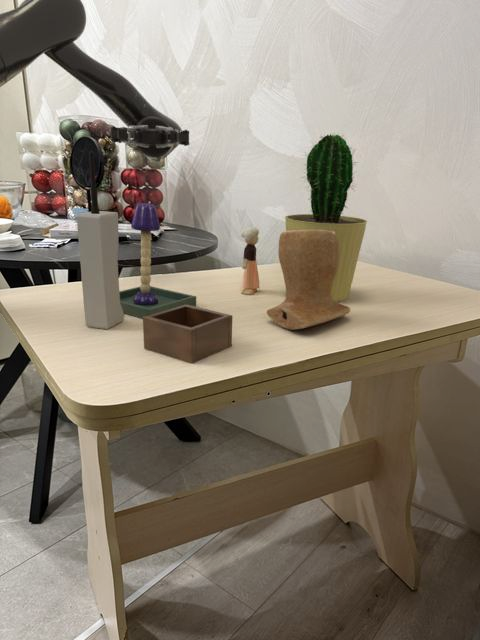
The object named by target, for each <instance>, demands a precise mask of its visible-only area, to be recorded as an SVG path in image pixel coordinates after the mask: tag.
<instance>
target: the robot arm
mask: <svg viewBox="0 0 480 640" xmlns="http://www.w3.org/2000/svg"><path fill="white" fill-rule="evenodd" d="M86 25H87V12H86V8H85V5H84V3H83V2H82V0H23V1H22V2H21V4H19V6H17V7H16V8H13V9H11V10H9V11H8V10H7V11H6V12H1V13H0V88H2V87H3V86H4V85H5V84H7V83H8V82H9V81H11V80H13V79H14V78H15V77H16V76H18V75H20V73H22V72H23V71H24V70H25V69H26V68H28V67H29V66H30V65H31V64H32V63H34V61H36V60H37V59H38V58H40V57H41V56H42V55H43V54H44V55H45V56H46V57H47V58H49V59H50V60H51V61H53V62H54V63H55V64H57V65H58V66H59V67H60V68H61V69H63V70H64V71H66V72H67V73H68V74H69V75H70V76H72V77H73V78H75V80H77V81H78V82H80V83H81V84H82V85H83V86H85V87H86V88H87V89H88V90H89V91H91V92H92V93H93V94H94V95H95V96H96V97H98V98H99V99H100V100H101V101H102V102H103V103H104V104H105V105H106V106H107V107H108V108H109V109H110V111H112V112H113V113H114V114H115V115H116V116H117V117H118V119H120V120H121V122H122V123H124V125H125V126H120V127H116V126H115V125H114V126H110V142H113V143H118V144H124V143H125V144H126V143H128V145H129V146H136V148H137V149H138V150H139V151H140V152H141V153H142V154H143V155H144V156H145V158H146V159H147V160H149V161H151V162H152V163H154V164H160V163H162V162H163V161H164V160H165V159H166V158H167V157H168V156H169V155H171V153H172V152H174V150H176V148H178V146H180V145H181V146H184V147H187V146H190V130H188V129H184V130H183V129H182V128H181V126H180V125H179V123H177V122H176V121H175V120H173V118H171V117H169V116H168V115H165V113H162V112H161V111H159V110H158V109H157V108H156V107H154V106H153V105H152V104H151V103H150V102H149V101H148V100H147V99H146V98H145V97H144V96H143V95H142V94H141V92H140V91H139V90H138V89H137V88H136V87H135V85H134V84H132V82H131V81H130V80H129V79H127V78H126V77H125V76H124V75H122V74H121V73H119V72H118V71H115V70H114V69H112V68H110V67H109V66H107V65H105V64H103V63H101V62H100V61H97V60H96V59H94V58H93V57H91V56H90V55H89V54H87V53H86V52H84V51H83V50H82V49H81V48H80V47H79V46H78V45H77V44H76V43H75V42H76V41H77V40H78V39H80V37H81V36H82V35H83V33H84V31H85V29H86Z"/></svg>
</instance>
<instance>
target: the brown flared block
mask: <svg viewBox="0 0 480 640" xmlns="http://www.w3.org/2000/svg"><path fill="white" fill-rule="evenodd" d="M277 253H278V261H279V264H280V268H281V272H282V276H283V281H284V286H285V299H284V300H283V301H282V302H281V303H280V304H278V305H277V306H274V307H271V308H269V309H267V310H266V315H267V316H268V317H269V318H270V319H271V320H272V321H273V322H274V323H275V324H277V325H278V326H280V328H282V329H283V328H284V329H286V330H290V331H291V330H293V331H294V330H295V331H296V330H301V329H305V328H310V327H313V326H316V325H320V324H324V323H327V322H329V321H332V320H335V319H339V318H340V317H343V316H345V315H347V314H350V312H351V309H352V308H350V307H349V306H347V305H344V304H342V303H339V302H335V301H333V299H332V296H331V290H332V285H333V281H334V278H335V275H336V272H337V268H338V262H339V241H338V237H337V234H336V233H335V232H334V231H327V230H292V231H286V230H285V231H282V232H281V233H280V234H279V238H278V251H277Z"/></svg>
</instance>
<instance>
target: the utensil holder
mask: <svg viewBox="0 0 480 640" xmlns="http://www.w3.org/2000/svg"><path fill="white" fill-rule="evenodd" d="M94 156H95V155H94V152H93V151H89V152H88V159H89V175H90V198H91V211H86V212H80V213H77V215H76V226H77V227H76V229H77V238H78V251H79V260H80V261H79V264H80V272H81V273H80V274H81V275H80V276H81V288H82V298H83V309H84V311H83V312H84V321H85V326H86V327H88V328H93V329H94V328H95V329H101V330H108V329H111V328H112V327H115V326H116V325H118V324H120V323H122V322H123V321H124V320H125V314H124V313H123V310H122V307H121V304H120V294H119V291H120V280H119V279H120V278H119V262H118V251H119V244H120V243H119V213H118V212H117V211H103V210H100V209H99V199H98V189H97V188H98V187H97V183H96V182H97V181H96V171H95V168H96V167H95V157H94Z"/></svg>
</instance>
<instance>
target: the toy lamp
mask: <svg viewBox="0 0 480 640" xmlns="http://www.w3.org/2000/svg"><path fill="white" fill-rule="evenodd" d="M157 211H158V210H157V208H156V205H155V204H154V203H148V202H147V203H146V202H138V203H137V204H136V206H135V207H134V213H133V216H132V220H131V225H130V227H131V229H132V230H134V231H140V238H141V239H140V246H141V249H140V255H141V257H140V265H141V266H140V270H139V272H140V274H141V275H140V278H139V279H140V286H139V287H140V289H141V292H138V293H137V294H136V295H135V297H134V300H133V302H134V303H135V304H138V305H153V304H157V303H158V299H157V296H156V295H155V294H154V293H153V292H150V286H151V280H152V278H151V272H152V267H151V264H152V259H151V256H152V250H151V246H152V240H151V238H152V232H158V231H160V230H161V225H160V220H159V216H158V212H157Z"/></svg>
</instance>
